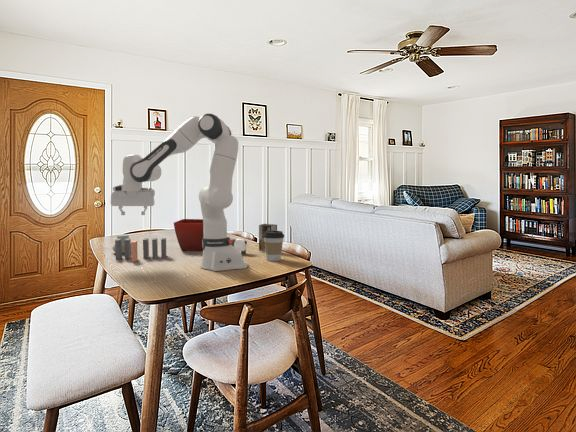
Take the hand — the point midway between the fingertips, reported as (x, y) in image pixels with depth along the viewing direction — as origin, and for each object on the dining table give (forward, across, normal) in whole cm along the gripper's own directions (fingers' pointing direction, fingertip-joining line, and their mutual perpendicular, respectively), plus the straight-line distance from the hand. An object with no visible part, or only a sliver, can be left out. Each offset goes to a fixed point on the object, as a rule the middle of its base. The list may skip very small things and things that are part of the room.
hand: (133, 215), depth 181 cm
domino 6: (+23, -14, -7) cm, 28 cm away
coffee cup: (+23, -70, +10) cm, 75 cm away
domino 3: (+23, 0, 0) cm, 23 cm away
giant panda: (+23, -52, -9) cm, 58 cm away
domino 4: (+23, -5, -7) cm, 25 cm away
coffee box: (+23, -71, -12) cm, 76 cm away
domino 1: (+24, +9, -7) cm, 26 cm away
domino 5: (+23, -9, -7) cm, 26 cm away
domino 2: (+23, +4, -7) cm, 25 cm away
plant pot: (+24, -29, -28) cm, 47 cm away
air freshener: (+24, +10, -22) cm, 34 cm away
